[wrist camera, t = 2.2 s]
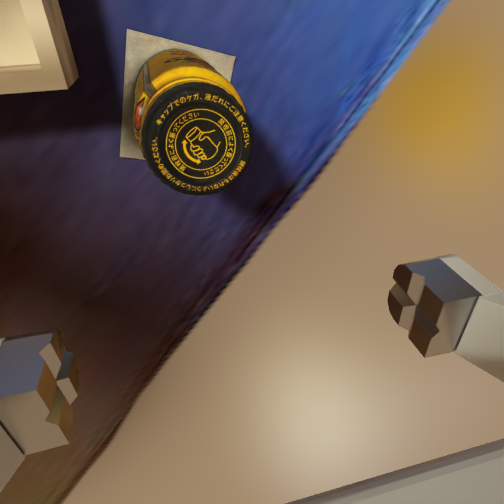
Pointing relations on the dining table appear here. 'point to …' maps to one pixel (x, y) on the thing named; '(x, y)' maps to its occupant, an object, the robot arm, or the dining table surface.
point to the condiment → (183, 114)
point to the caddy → (34, 47)
